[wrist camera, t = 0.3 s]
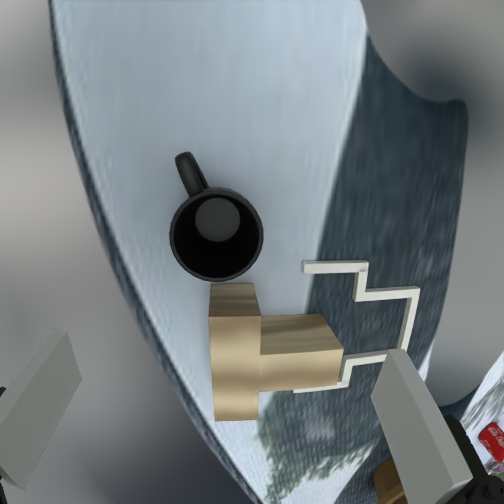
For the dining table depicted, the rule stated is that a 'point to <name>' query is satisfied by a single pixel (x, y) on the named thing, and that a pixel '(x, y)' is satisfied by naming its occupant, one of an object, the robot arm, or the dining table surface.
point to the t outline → (365, 295)
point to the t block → (264, 352)
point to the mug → (213, 228)
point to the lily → (497, 469)
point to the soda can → (493, 442)
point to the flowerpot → (389, 484)
